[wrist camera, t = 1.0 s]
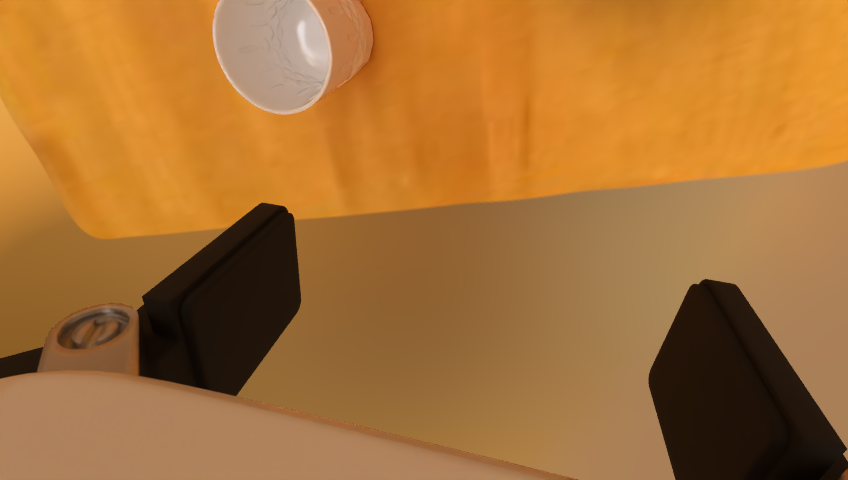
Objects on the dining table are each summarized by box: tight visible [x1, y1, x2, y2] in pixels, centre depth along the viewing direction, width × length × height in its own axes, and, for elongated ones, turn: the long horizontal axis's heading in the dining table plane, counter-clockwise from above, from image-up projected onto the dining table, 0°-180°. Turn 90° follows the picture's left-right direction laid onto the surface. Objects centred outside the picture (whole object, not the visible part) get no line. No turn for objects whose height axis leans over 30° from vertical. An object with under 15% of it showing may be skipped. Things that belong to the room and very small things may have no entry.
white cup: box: [212, 0, 374, 115], centre depth 31 cm, size 8×8×10 cm
